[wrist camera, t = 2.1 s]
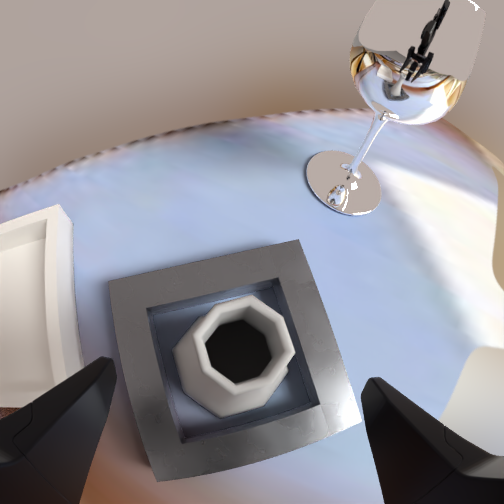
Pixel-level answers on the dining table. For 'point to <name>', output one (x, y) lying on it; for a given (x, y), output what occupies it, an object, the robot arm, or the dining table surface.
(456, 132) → the dining table surface
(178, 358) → the flask
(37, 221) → the tray
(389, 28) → the wineglass
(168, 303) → the holder
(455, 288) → the dining table surface
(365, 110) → the dining table surface
